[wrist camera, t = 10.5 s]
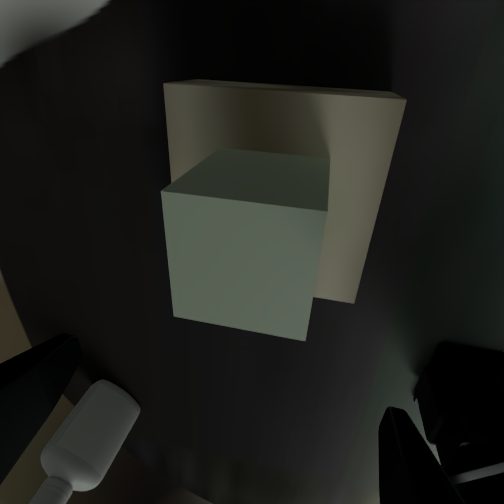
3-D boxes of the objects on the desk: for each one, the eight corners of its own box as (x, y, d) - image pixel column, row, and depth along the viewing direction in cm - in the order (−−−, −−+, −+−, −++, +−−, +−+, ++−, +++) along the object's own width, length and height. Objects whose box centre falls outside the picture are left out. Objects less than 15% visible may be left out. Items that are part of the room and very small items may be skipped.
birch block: (391, 91, 16) (406, 99, 13) (351, 264, 21) (353, 303, 18) (196, 79, 18) (163, 83, 14) (202, 242, 23) (179, 274, 19)
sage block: (330, 158, 14) (327, 211, 9) (314, 256, 17) (305, 341, 12) (219, 147, 15) (160, 190, 10) (220, 243, 18) (173, 316, 13)
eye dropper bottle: (124, 377, 33) (28, 519, 22) (146, 413, 35) (68, 557, 25) (89, 377, 34) (-16, 511, 24) (112, 412, 36) (26, 548, 26)
